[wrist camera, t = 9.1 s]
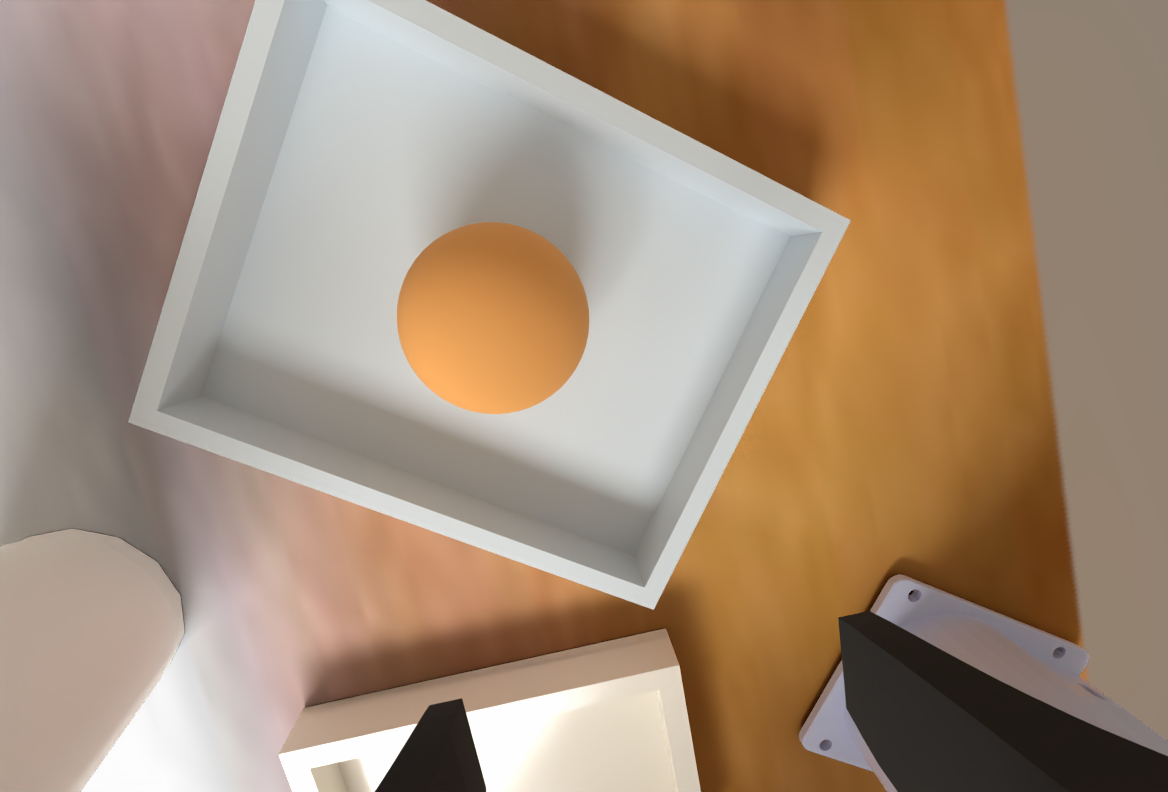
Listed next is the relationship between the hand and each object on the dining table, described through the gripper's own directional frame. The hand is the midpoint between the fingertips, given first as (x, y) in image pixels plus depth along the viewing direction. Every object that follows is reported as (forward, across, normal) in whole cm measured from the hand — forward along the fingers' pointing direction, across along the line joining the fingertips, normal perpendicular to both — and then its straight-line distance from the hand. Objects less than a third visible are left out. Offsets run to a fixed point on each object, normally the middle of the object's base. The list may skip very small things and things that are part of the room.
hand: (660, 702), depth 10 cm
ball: (+6, +2, -7) cm, 10 cm away
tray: (+9, +2, -7) cm, 12 cm away
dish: (+9, +5, +10) cm, 15 cm away
